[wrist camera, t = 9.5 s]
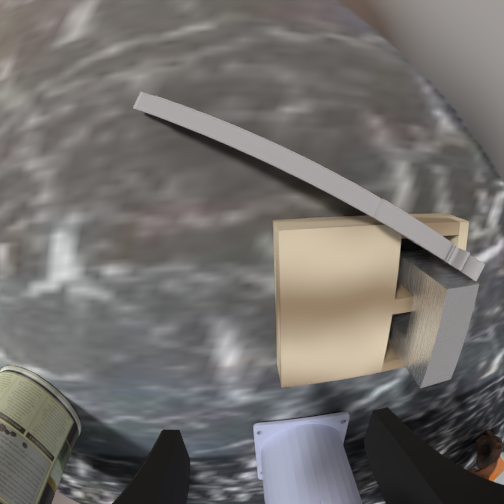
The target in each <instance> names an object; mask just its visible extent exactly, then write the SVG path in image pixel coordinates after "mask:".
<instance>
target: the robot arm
mask: <svg viewBox="0 0 504 504" xmlns="http://www.w3.org/2000/svg"><path fill="white" fill-rule="evenodd" d="M349 418H350V415H349V413H348V412H346V411H345V412H339V413H333V414H327V415H321V416H314V417H307V418H299V419H291V420H282V421H272V422H261V423H256V424H255V425H254V426H253V429H254V440H255V450H256V461H257V471H258V478H259V479H261V480H263V487H264V498H265V504H362V501H361V498H360V495H359V492H358V489H357V486H356V482H355V479H354V476H353V473H352V470H351V467H350V464H349V461H348V458H347V455H346V452H345V449H344V446H343V443H344V439H345V435H346V431H347V427H348V422H349ZM364 445H365V449H366V453H367V457H368V460H369V464H370V466H371V468H372V471H373V473H374V476H375V478H376V480H377V483H378V485H379V488H380V490H381V492H382V495H383V497H384V499H385V502H386V504H504V485H503V484H499V483H496V482H493V481H490V480H487V479H485V478H483V477H480V476H478V475H476V474H474V473H471V472H469V471H467V470H465V469H464V468H462V467H460V466H458V465H457V464H455V463H453V462H452V461H450V460H449V459H447V458H446V457H444V456H443V455H441V454H440V453H439V452H437V451H436V450H435V449H433V448H432V447H431V446H429V445H428V444H427V443H426V442H425V441H423V440H422V439H421V438H420V437H419V436H418V435H416V434H415V433H414V432H413V431H412V430H411V429H410V428H409V427H408V426H406V425H405V424H404V423H403V422H402V421H401V420H400V419H399V418H398V417H397V416H396V415H395V414H394V413H393V412H392V411H391V410H390V409H389V408H383V409H378V410H374V411H373V412H372V416H371V419H370V423H369V426H368V429H367V432H366V436H365V439H364ZM189 480H190V458H189V455H188V452H187V450H186V447H185V444H184V442H183V439H182V436H181V433H180V430H162V431H161V433H160V435H159V437H158V439H157V441H156V443H155V444H154V446H153V448H152V450H151V451H150V453H149V455H148V456H147V458H146V460H145V461H144V463H143V464H142V466H141V467H140V469H139V470H138V472H137V473H136V475H135V476H134V478H133V479H132V480H131V482H130V483H129V484H128V485H127V487H126V488H125V489H124V491H123V492H122V493H121V494H120V495H119V497H118V498H117V499H116V500H115V501H114V502H113V503H112V504H186V501H187V495H188V488H189Z"/></svg>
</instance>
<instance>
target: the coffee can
mask: <svg viewBox="0 0 504 504" xmlns="http://www.w3.org/2000/svg"><path fill="white" fill-rule="evenodd" d="M80 434H81V423H80V420H79V417H78V415H77V413H76V411H75V410H74V409H73V407H72V406H71V404H70V403H69V402H68V401H67V400H66V399H65V397H64V396H63V395H62V394H61V393H60V392H59V391H57V390H56V389H55V388H54V387H53V386H52V385H51V384H50V383H48V382H47V381H45V380H44V379H42V378H41V377H40V376H38V375H36V374H35V373H33V372H31V371H29V370H26V369H24V368H21V367H17V366H6V367H4V368H2V369H1V370H0V504H51V503H52V500H53V498H54V495H55V492H56V490H57V487H58V485H59V482H60V479H61V477H62V474H63V472H64V469H65V467H66V464H67V462H68V459H69V457H70V455H71V452H72V450H73V448H74V445H75V443H76V441H77V438H78V437H79V436H80Z"/></svg>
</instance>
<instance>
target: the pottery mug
mask: <svg viewBox="0 0 504 504" xmlns="http://www.w3.org/2000/svg"><path fill="white" fill-rule="evenodd" d="M485 433H486V435H482V436H480V437H479V438H478V439H476V445H477V460H476V462H477V466H478V468H480V469H479V470H477V471H476V470H475V468H473V469H471V470H467V471H469V472H471V473H474V474H476V475H478V476H480V477H483V478H485V479H487V480H489V477H490V476H491V474H492V473H493V472H494V470H495V468H496V466H497V462H498V459H499V457H500V455H501V453H502V449H503V443H502V440H501V439H500V438H499V437H497V436H495V435H494V434H493V432H492V431H489V430H487V431H486V432H485Z"/></svg>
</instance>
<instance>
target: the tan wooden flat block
mask: <svg viewBox="0 0 504 504" xmlns="http://www.w3.org/2000/svg"><path fill="white" fill-rule="evenodd" d="M409 215H411V216H412V217H414V218H415V219H417V220H419V221H420V222H422V223H423V224H425V225H426V226H428V227H429V228H431V229H432V230H434V231H436V232H437V233H439V234H440V235H442V236H443V237H444V238H446V239H447V240H449V241H450V242H452V243H453V245H455V246H457V247H458V248H460V249H463V250H465V251H466V243H467V235H468V226H469V222H468V221H466V220H463V219H461V218H458V217H455V216H453V215H450V214H447V213H435V214H409ZM401 238H406V237H405V236H403V235H401V234H400V233H398V232H396V231H395V230H393V229H391V228H390V227H388V226H386V225H384V224H383V223H381V222H379V221H377V220H376V219H374V218H372V217H370V216H368V215H366V216H341V217H320V218H301V219H283V220H273V239H274V267H275V299H276V338H277V366H278V372H279V377H280V382H281V387H289V386H298V385H306V384H314V383H321V382H328V381H334V380H341V379H347V378H352V377H358V376H363V375H369V374H374V373H379V372H383V371H388V370H393V369H397V368H401V367H405V366H404V364H403V363H402V361H401V360H400V359H399V357H398V356H397V354H396V353H395V352H394V350H393V349H392V348H391V346H390V345H389V343H388V337H389V331H390V326H391V320H392V315H393V314H399V313H405V312H410V311H411V309H412V303H413V298H414V295H413V294H412V293H411V292H410V291H408V290H407V289H406V288H405V287H404V286H403V285H402V284H400V283H399V282H398V281H397V277H398V268H399V259H400V248H401Z"/></svg>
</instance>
